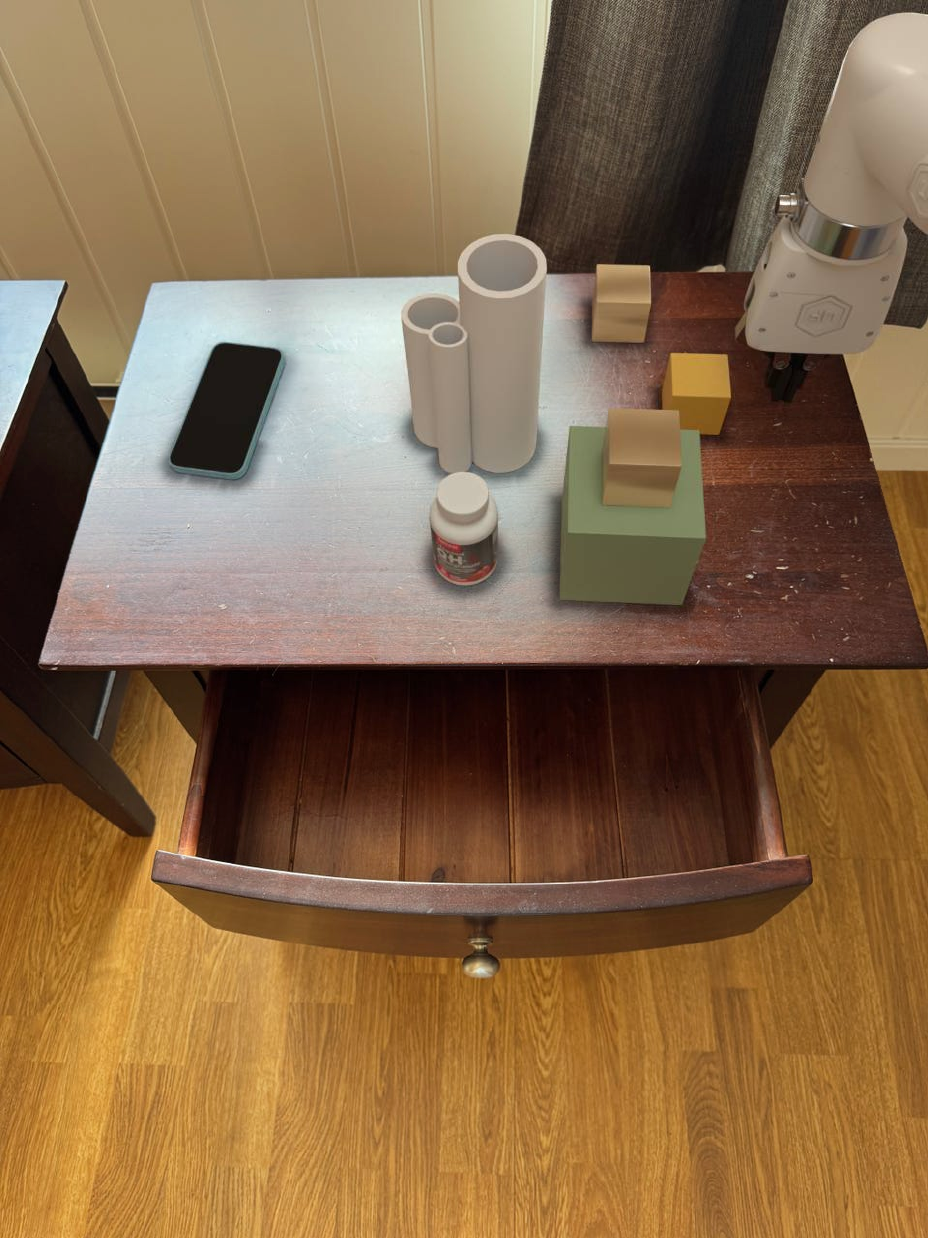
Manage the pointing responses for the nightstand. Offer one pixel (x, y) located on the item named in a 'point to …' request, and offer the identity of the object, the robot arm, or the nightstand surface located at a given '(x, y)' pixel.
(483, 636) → the nightstand surface
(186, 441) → the smartphone
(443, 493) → the pill bottle
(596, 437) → the stand
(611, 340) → the far maple block
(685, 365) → the mustard block
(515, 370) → the vase
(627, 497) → the near maple block
